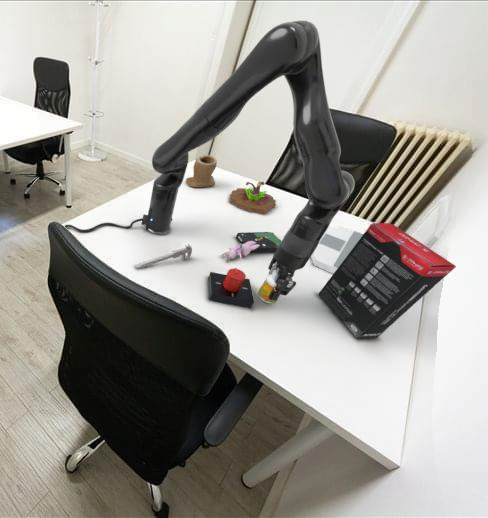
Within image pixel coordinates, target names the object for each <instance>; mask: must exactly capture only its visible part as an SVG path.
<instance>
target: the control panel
mask: <svg viewBox="0 0 488 518" xmlns="http://www.w3.org/2000/svg"><path fill="white" fill-rule="evenodd" d="M226 275H227V274H224V273H220V272H214V271H209V275H208V278H207V286H208V287H207V288H208V301H211V302H216V303H222V304H225V305H232V306H236V307H241V308H245V309H252V307H253V305H254V303H255V298H254V295H253V288H252V285H251V280H250V279H249V278H245V280H244V282H243V284H242V286H241V288H240V290H239V291H237V292H232V291H229V290H227V289H226V288H225V287H224V286H223V282H224V280H225V277H226Z"/></svg>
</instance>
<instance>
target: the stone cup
mask: <svg viewBox="0 0 488 518" xmlns="http://www.w3.org/2000/svg"><path fill="white" fill-rule="evenodd" d="M217 161H218V160H217V158H216V157H214V156H212V155H210V154H209V155H208V154H203V155H201V156H197V158H196V159H195V161H194V164H193V176H189V177H186V179H185V182H186V183H187V184H188V185H189V186H190V187H193V188H204V187H209V186H211V187H212V186H215V185H216V181H215V179H214V176H213V175H212V174H213V173H214V172H215V170H216V168H217V164H218V163H217Z"/></svg>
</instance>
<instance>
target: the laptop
mask: <svg viewBox="0 0 488 518" xmlns="http://www.w3.org/2000/svg"><path fill="white" fill-rule="evenodd" d="M452 204H453V196H452V195H451V194H450V193H448V194H446V195H444V196H442V197H440V198H439V199H438V201H437V202H436V203H435V204H433V206H432V207H431V208H430V209H429V211H428V212H427V213H426V214H425V215H424V216H423V218H422V219H421V220H420V221H419V222H418V223H417V224H416V225H415V227H414V228H413V229H412V230H411V231H410V232H409V233H408V235H410V236H411V237H413V238H414V239H416V240H417V241H419V242H420V243H422V244H423V245H425V246H426V247H428V248H429V249H431V248H432V247H434V245H435V244H436V243H437V242H438V241H439V240H440V239H441V238H440V237H441V236H442V234H443V233H444V231H445V230H446V228H447V226H448V225H449V223H450V221H451V214H452V206H453V205H452ZM363 234H364V233H361V232H358V231H356V230H353V229H350V228H347V227H344V226H342V225H337V226H329V227H328V229H327V230H326V232H325V233H324V235H323V236H322V238H321V239H320V241H319V244H318V246H317V248H316V249H315V251H314V252H313V254H312V255H311V257H310V258H311V261H312V263H313V265H314V267H317V268H319V269H321V270H323V271H326V272H328V273H331V274H332V275H333V274H334V273H335V271H336V270H337V269H338V267H339V266H340V265H341V263H342V262H343V261H344V260H345V258H346V257H347V256H348V254H349V253H350V252H351V250H352V249H353V248H354V246H355V245H356V244H357V242H358V241H359V240H360V238H361V237H362V236H363Z"/></svg>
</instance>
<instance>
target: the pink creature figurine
mask: <svg viewBox="0 0 488 518" xmlns="http://www.w3.org/2000/svg"><path fill="white" fill-rule="evenodd" d="M253 244H256V242H254V241H248V242H246V243H245V244H240V243H239V244H237V246H236V247H234V248H233V247H228V251H225V252H224V253H221V258H224V256H225V257H226V259H225V260H226V262H229V260H230V261H233V260H234V259H235V258H236V257H237V256H238V257H239V259H242V258H243V256H244V257H245V256H249V254H251V253H250V251H252V250H254V249H256V248H257V247H259V246H260V245H257V244H256V245H253ZM251 245H252V246H251Z"/></svg>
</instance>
